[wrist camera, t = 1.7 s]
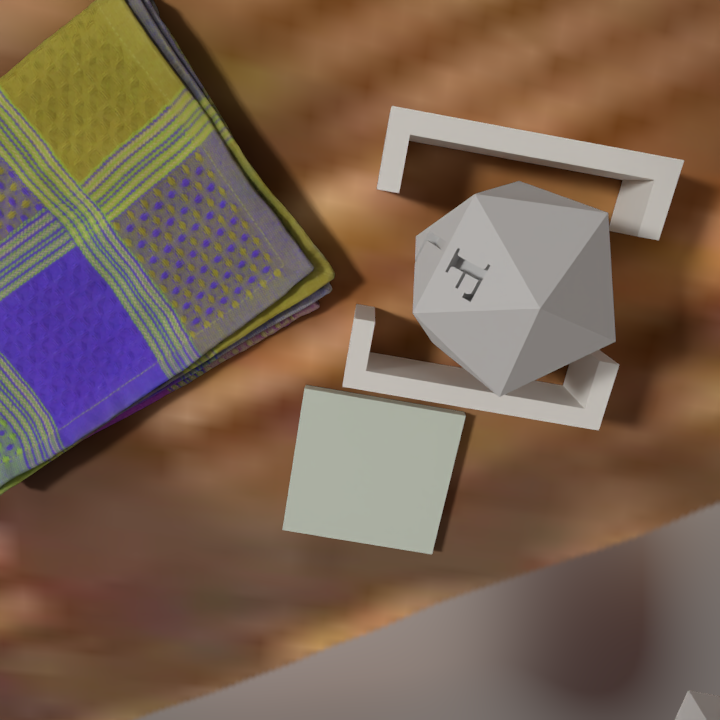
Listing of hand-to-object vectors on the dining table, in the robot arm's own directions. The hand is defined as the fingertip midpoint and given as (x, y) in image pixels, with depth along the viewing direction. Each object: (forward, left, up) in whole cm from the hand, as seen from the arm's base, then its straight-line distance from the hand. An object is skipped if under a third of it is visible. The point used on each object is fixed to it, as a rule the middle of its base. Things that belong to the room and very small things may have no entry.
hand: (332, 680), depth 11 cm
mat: (+7, +2, -22) cm, 23 cm away
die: (-6, +6, -22) cm, 24 cm away
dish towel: (-2, -16, -23) cm, 28 cm away
